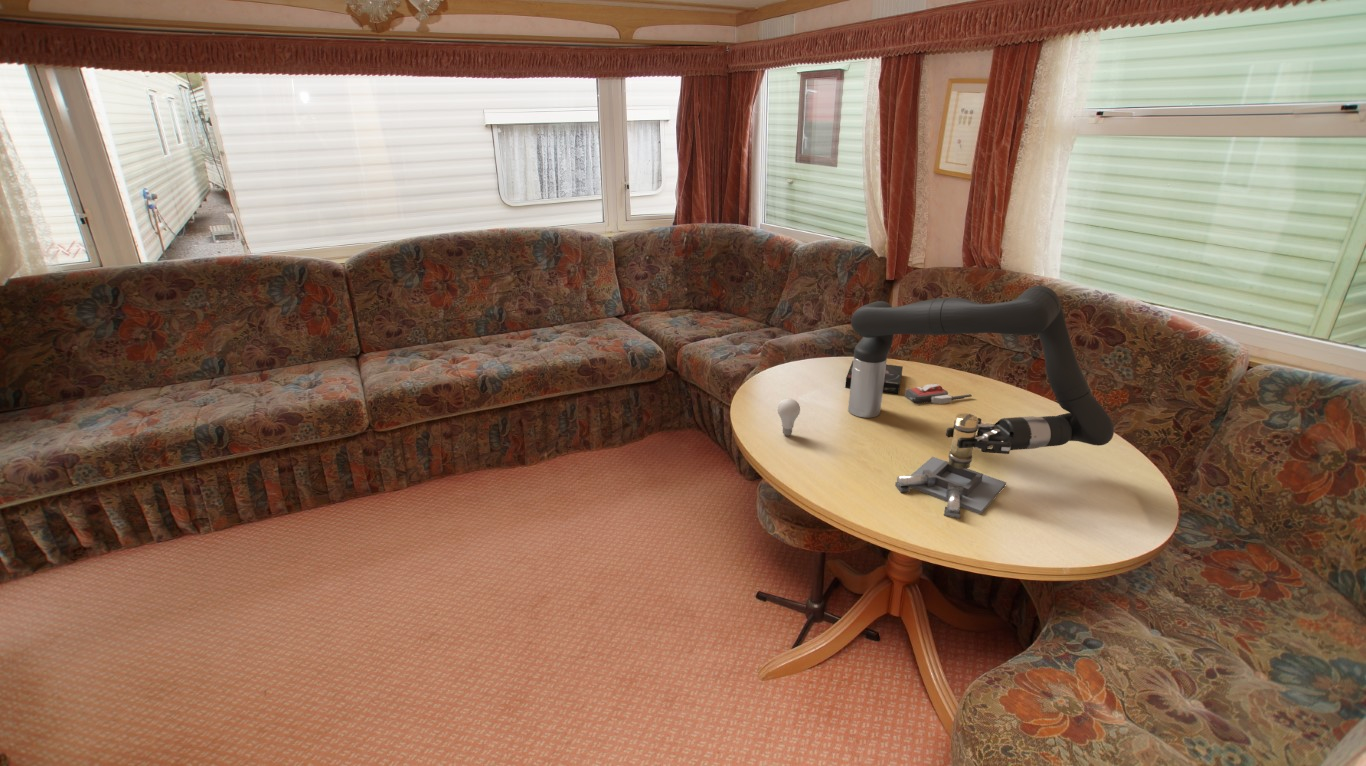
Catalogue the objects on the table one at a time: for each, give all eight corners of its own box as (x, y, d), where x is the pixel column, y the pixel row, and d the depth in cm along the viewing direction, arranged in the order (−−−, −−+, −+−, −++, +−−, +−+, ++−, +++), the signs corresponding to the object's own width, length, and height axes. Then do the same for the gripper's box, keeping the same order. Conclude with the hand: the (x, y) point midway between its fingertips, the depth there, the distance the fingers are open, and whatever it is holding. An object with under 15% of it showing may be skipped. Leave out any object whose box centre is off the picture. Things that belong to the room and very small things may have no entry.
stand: (931, 459, 161) (933, 449, 160) (1005, 485, 149) (1008, 475, 148) (903, 484, 150) (904, 473, 149) (980, 514, 139) (982, 503, 138)
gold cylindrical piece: (952, 456, 151) (960, 411, 146) (974, 463, 148) (982, 417, 143) (944, 464, 147) (951, 418, 143) (965, 471, 144) (974, 424, 140)
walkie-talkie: (916, 408, 190) (973, 401, 194) (918, 395, 188) (975, 388, 193) (899, 397, 197) (954, 390, 202) (901, 384, 196) (956, 377, 201)
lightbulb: (773, 430, 177) (775, 394, 172) (795, 429, 177) (797, 393, 173) (778, 440, 171) (780, 404, 167) (800, 439, 171) (803, 403, 167)
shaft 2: (945, 496, 145) (948, 483, 144) (960, 499, 144) (963, 486, 143) (943, 515, 139) (946, 501, 137) (959, 518, 138) (962, 504, 136)
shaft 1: (927, 483, 151) (929, 470, 149) (933, 490, 148) (935, 477, 146) (895, 485, 150) (897, 472, 149) (900, 492, 147) (902, 479, 146)
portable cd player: (901, 376, 213) (902, 365, 212) (898, 396, 199) (899, 384, 197) (851, 370, 219) (853, 359, 217) (845, 388, 204) (846, 377, 202)
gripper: (1007, 405, 151) (939, 410, 150) (1045, 432, 138) (971, 438, 136) (1001, 433, 154) (935, 438, 152) (1038, 462, 141) (966, 468, 139)
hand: (952, 438), depth 144 cm, fingers closed on gold cylindrical piece, 4 cm apart
